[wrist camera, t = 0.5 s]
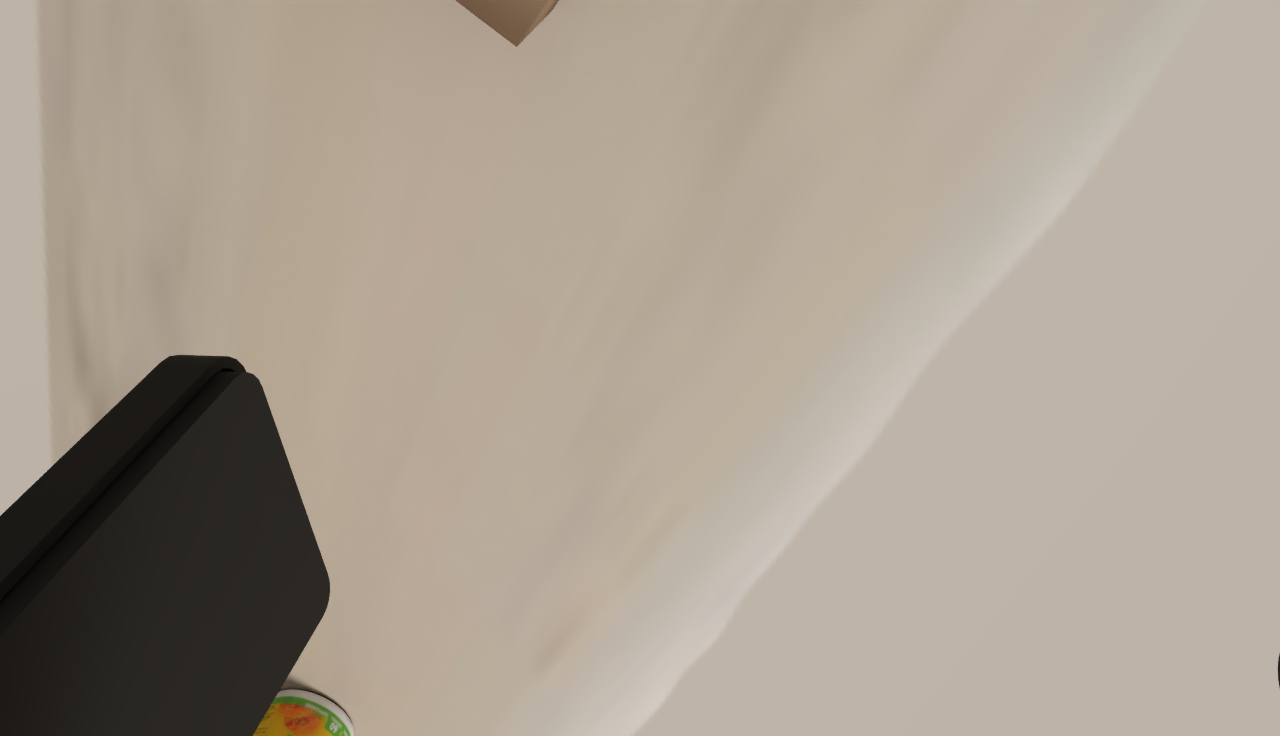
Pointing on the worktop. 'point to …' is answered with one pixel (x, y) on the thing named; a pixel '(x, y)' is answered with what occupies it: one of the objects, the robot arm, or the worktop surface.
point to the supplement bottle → (304, 716)
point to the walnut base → (510, 15)
